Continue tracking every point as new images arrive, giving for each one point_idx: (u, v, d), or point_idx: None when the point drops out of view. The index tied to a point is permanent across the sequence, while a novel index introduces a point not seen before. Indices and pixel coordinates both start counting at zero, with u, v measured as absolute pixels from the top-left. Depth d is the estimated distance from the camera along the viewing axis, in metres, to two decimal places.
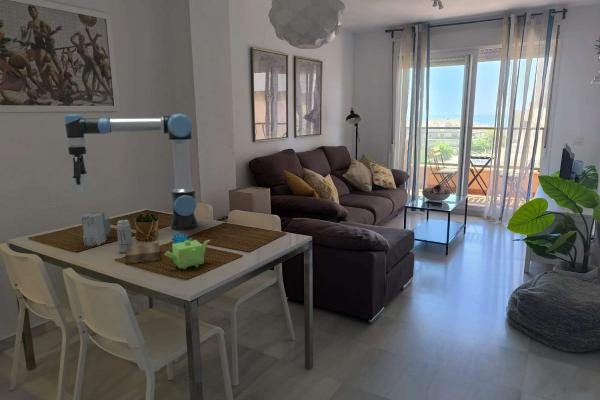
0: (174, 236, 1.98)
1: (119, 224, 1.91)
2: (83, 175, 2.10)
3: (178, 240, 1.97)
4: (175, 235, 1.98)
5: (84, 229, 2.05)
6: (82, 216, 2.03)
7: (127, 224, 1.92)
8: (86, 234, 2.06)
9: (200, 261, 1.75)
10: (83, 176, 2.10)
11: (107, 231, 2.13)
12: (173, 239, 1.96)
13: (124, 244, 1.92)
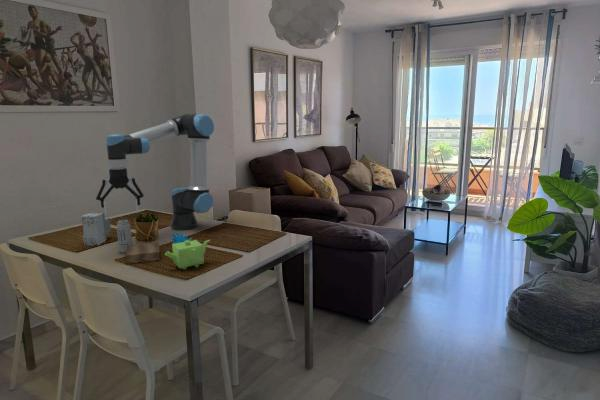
0: (174, 236, 1.98)
1: (119, 224, 1.91)
2: None
3: (178, 240, 1.98)
4: (175, 235, 1.98)
5: (84, 229, 2.05)
6: (82, 216, 2.03)
7: (127, 224, 1.92)
8: (86, 234, 2.06)
9: (200, 261, 1.75)
10: None
11: (107, 231, 2.13)
12: (173, 239, 1.96)
13: (124, 244, 1.92)
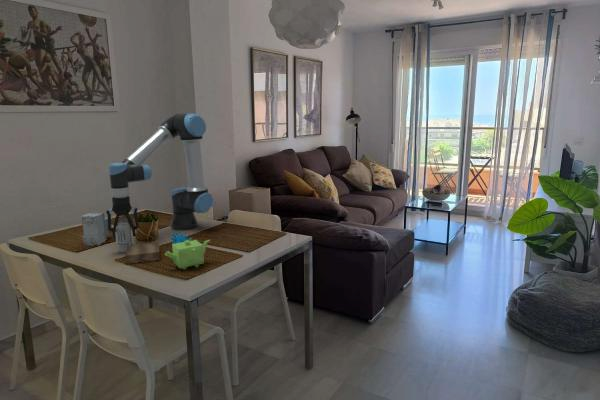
0: (174, 236, 1.98)
1: (119, 224, 1.91)
2: None
3: (177, 240, 1.98)
4: (175, 235, 1.99)
5: (84, 229, 2.05)
6: (82, 216, 2.03)
7: (127, 224, 1.92)
8: (86, 234, 2.06)
9: (200, 261, 1.75)
10: (131, 232, 1.95)
11: (107, 231, 2.13)
12: (172, 239, 1.97)
13: (124, 244, 1.92)
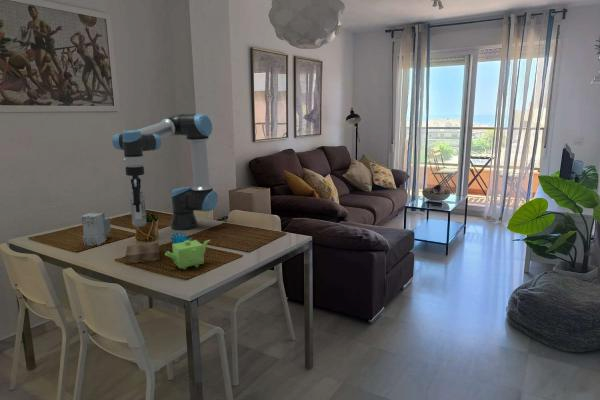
0: (174, 236, 1.99)
1: (141, 195, 1.81)
2: None
3: (177, 240, 1.98)
4: (175, 235, 1.99)
5: (84, 229, 2.05)
6: (82, 216, 2.03)
7: None
8: (86, 234, 2.06)
9: (200, 261, 1.75)
10: None
11: (107, 231, 2.13)
12: (172, 239, 1.97)
13: (145, 215, 1.85)
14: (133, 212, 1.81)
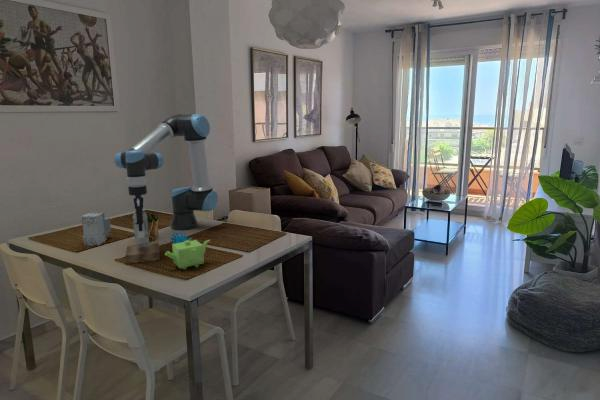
0: (173, 235, 1.99)
1: (144, 214, 1.83)
2: None
3: (177, 240, 1.98)
4: (174, 235, 1.99)
5: (84, 229, 2.05)
6: (82, 216, 2.03)
7: None
8: (86, 234, 2.06)
9: (200, 261, 1.75)
10: None
11: (107, 231, 2.13)
12: (172, 238, 1.97)
13: (148, 233, 1.86)
14: (136, 231, 1.82)
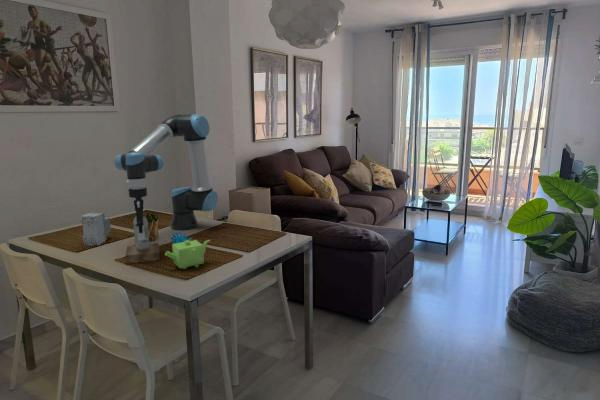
0: (173, 235, 1.99)
1: (145, 219, 1.83)
2: None
3: (177, 240, 1.98)
4: (174, 234, 1.99)
5: (84, 229, 2.05)
6: (82, 216, 2.03)
7: None
8: (86, 234, 2.06)
9: (200, 261, 1.75)
10: None
11: (107, 231, 2.13)
12: (172, 238, 1.97)
13: None
14: (136, 236, 1.83)
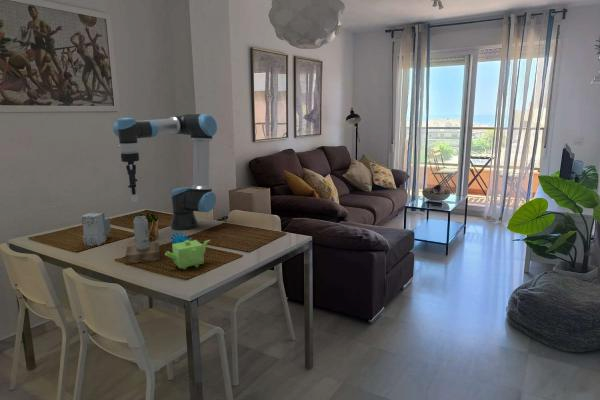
0: (173, 235, 1.99)
1: (145, 219, 1.83)
2: None
3: (177, 239, 1.98)
4: (174, 234, 1.99)
5: (84, 229, 2.05)
6: (82, 216, 2.03)
7: None
8: (86, 234, 2.06)
9: (200, 261, 1.75)
10: None
11: (107, 231, 2.13)
12: (172, 238, 1.97)
13: None
14: (136, 236, 1.83)
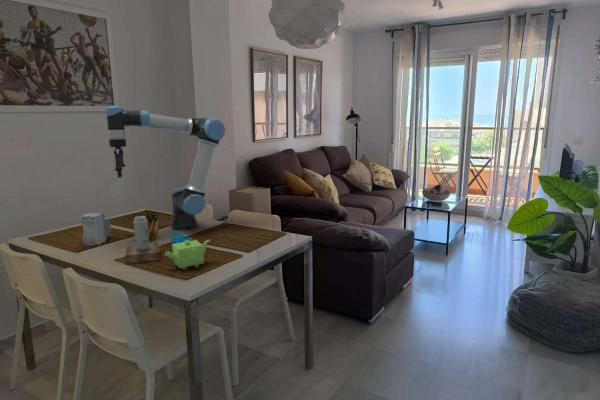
0: (173, 235, 1.99)
1: (145, 219, 1.83)
2: (122, 168, 2.07)
3: (176, 239, 1.99)
4: (174, 234, 2.00)
5: (84, 229, 2.05)
6: (82, 216, 2.03)
7: None
8: (86, 234, 2.06)
9: (200, 261, 1.75)
10: (122, 169, 2.07)
11: (107, 231, 2.13)
12: (171, 238, 1.98)
13: None
14: (136, 236, 1.83)
